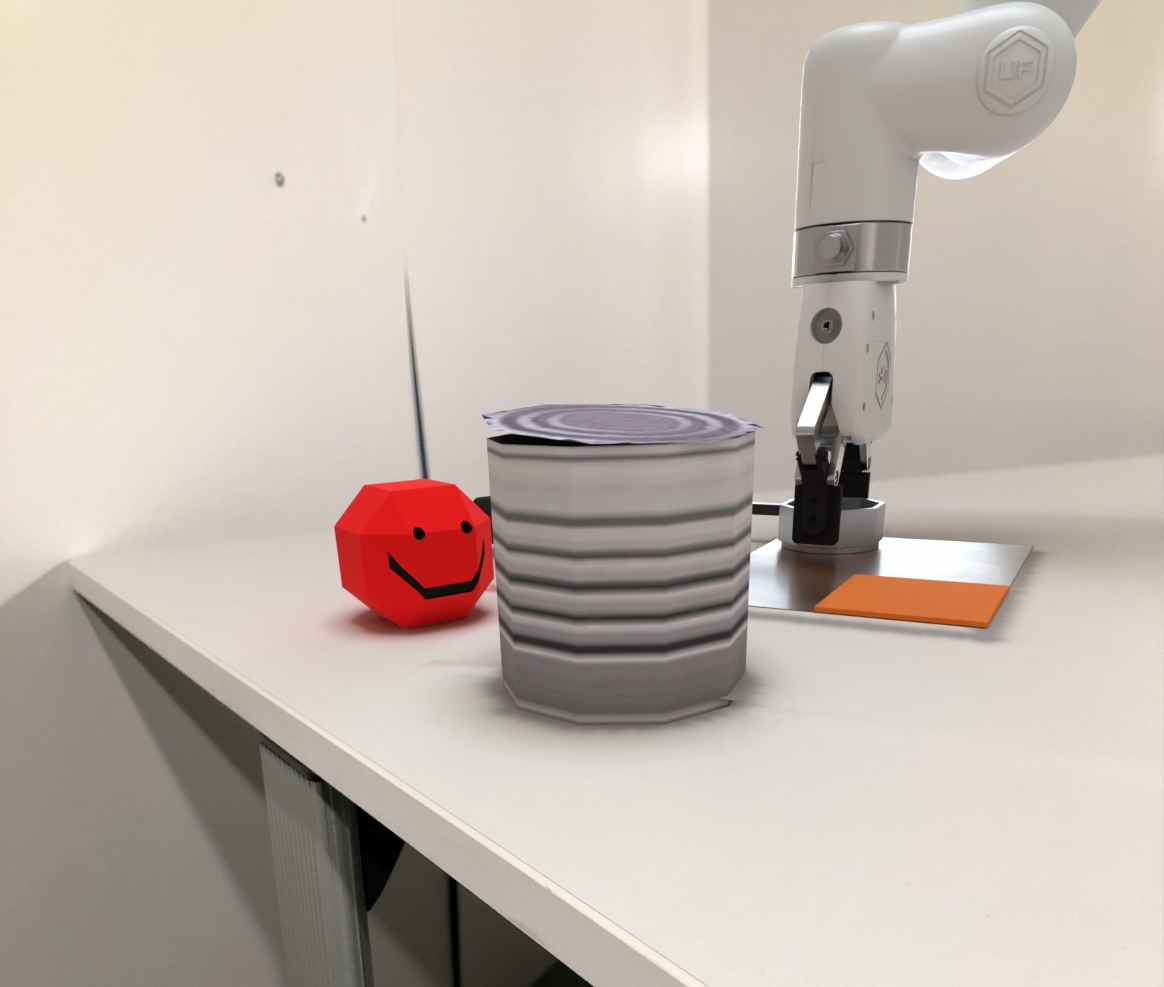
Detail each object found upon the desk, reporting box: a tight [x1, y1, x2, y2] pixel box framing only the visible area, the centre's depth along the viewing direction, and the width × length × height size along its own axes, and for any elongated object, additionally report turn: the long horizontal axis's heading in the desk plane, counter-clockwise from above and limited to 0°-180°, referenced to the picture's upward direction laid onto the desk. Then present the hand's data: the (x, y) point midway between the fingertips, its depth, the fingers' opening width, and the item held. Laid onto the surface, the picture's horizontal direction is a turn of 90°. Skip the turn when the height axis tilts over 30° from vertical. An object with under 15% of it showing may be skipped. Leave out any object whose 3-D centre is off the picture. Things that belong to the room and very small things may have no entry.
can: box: [481, 403, 766, 726], centre depth 42 cm, size 11×11×12 cm
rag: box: [814, 574, 1010, 628], centre depth 54 cm, size 9×9×1 cm
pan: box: [752, 497, 887, 554], centre depth 71 cm, size 13×7×3 cm, turn 61°
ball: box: [333, 478, 495, 630], centre depth 55 cm, size 8×8×8 cm
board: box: [748, 536, 1035, 630], centre depth 63 cm, size 24×18×1 cm
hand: (830, 532), depth 70 cm, fingers closed on pan, 7 cm apart
